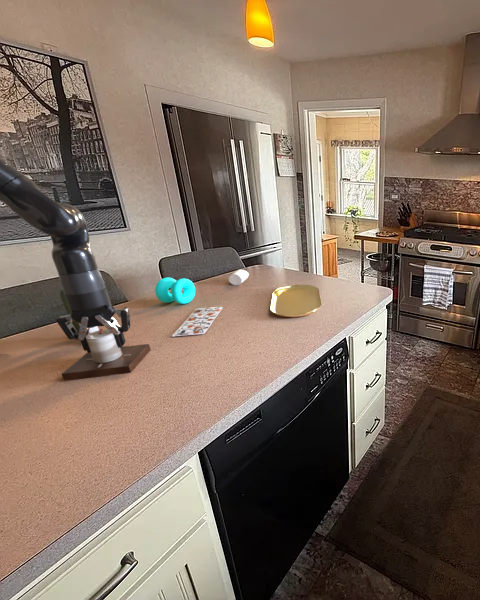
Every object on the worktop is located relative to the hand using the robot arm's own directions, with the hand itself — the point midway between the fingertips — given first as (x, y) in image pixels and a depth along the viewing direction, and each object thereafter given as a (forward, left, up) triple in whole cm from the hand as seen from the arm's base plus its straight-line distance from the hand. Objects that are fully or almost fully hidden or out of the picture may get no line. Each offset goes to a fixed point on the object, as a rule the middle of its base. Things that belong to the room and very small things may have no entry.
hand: (106, 348), depth 85 cm
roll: (+21, +69, -5) cm, 73 cm away
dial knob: (0, -1, -2) cm, 3 cm away
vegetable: (-16, +21, -5) cm, 26 cm away
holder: (0, -1, -5) cm, 5 cm away
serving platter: (+47, +36, -5) cm, 59 cm away
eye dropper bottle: (-12, +16, -5) cm, 21 cm away
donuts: (+2, +46, -5) cm, 46 cm away
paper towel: (+15, +25, -5) cm, 29 cm away
